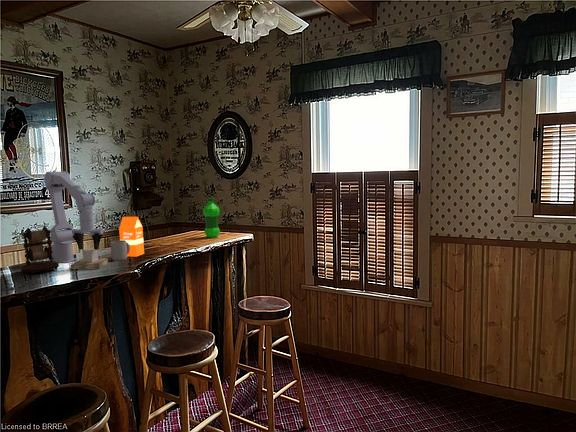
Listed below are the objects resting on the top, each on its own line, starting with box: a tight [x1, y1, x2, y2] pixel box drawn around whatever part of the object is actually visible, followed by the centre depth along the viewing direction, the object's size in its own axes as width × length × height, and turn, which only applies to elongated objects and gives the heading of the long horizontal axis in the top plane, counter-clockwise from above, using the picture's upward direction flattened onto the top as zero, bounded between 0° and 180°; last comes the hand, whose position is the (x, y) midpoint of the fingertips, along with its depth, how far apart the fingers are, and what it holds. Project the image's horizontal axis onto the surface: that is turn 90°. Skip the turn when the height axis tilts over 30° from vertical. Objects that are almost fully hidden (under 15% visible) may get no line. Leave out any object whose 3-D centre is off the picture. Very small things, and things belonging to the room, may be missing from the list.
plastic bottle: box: [202, 197, 221, 239], centre depth 270 cm, size 10×10×25 cm
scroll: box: [20, 225, 60, 274], centre depth 190 cm, size 15×15×20 cm
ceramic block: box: [82, 247, 99, 262], centre depth 198 cm, size 4×4×6 cm
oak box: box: [70, 257, 109, 270], centre depth 198 cm, size 12×12×3 cm
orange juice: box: [118, 216, 145, 257], centre depth 221 cm, size 8×9×20 cm
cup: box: [110, 239, 130, 262], centre depth 213 cm, size 7×10×9 cm
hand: (88, 249), depth 197 cm, fingers open, 7 cm apart
